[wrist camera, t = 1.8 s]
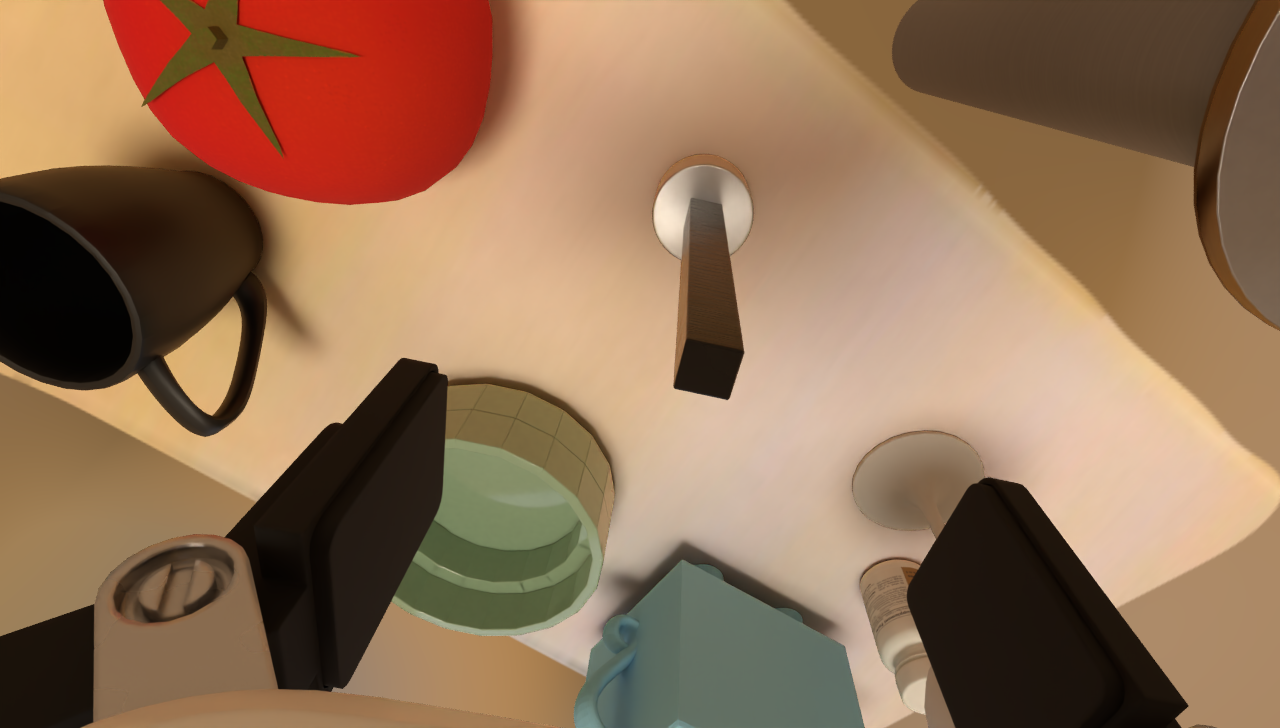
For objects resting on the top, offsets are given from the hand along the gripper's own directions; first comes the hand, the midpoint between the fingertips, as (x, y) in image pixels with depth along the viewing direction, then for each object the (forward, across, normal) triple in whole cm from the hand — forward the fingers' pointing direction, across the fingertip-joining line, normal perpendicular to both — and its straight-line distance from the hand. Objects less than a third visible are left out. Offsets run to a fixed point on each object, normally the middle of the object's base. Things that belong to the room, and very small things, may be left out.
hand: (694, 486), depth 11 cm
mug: (+21, +22, +8) cm, 31 cm away
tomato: (+20, +14, -4) cm, 25 cm away
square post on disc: (+20, -1, 0) cm, 20 cm away
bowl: (+20, +7, +19) cm, 29 cm away
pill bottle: (+20, -18, +21) cm, 34 cm away
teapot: (+20, -10, +29) cm, 37 cm away
